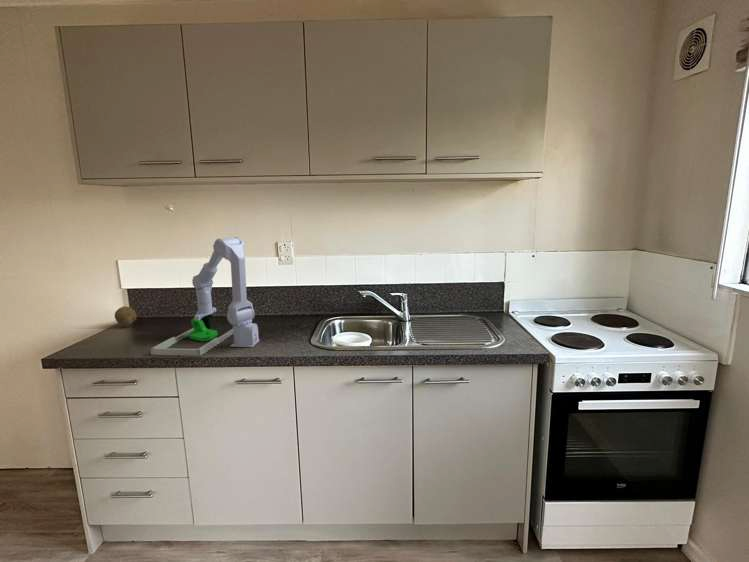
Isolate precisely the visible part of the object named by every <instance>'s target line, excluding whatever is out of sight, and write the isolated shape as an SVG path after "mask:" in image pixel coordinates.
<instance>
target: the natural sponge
mask: <svg viewBox="0 0 749 562" xmlns="http://www.w3.org/2000/svg"><path fill="white" fill-rule="evenodd" d="M137 318H138V315H137V313H136V311H135V310H134V309H133V308H132V307H130V306H121V307H119V308H118V309H116V311H115V312H114V319H115V321H116V322H117V324H118V325H119V326H121V327H124V328H128V327H129V326H131V324H132V323H133V322H135V321H136V320H137Z"/></svg>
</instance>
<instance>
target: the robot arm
mask: <svg viewBox="0 0 749 562" xmlns="http://www.w3.org/2000/svg"><path fill="white" fill-rule="evenodd" d="M213 243H214V244H213V246H212V247H213V248H212V249H213V252H212V254H211V256H210V259H209V260H208V262H205V263H204V264H203V265H202V268H201V269H200V271H199V273H198V274H196V275H194V276H193V277H192V279H191V282H192V286H193V288H194V289H195V292H196V302H197V311H196V312H195V313H196V314H195V315H194V317H193V318H194V319H195V321H199V320H200V319H202V321H203V322H204V324H205V327H206V328H207V329H211V328H212V323H213V320H214V318H215V315H214V314H213V313H216V312H217V307H213V301H212V290H213V289H212V287H213V284H214V281H213V279H214V277H215V275H216V274H217V272H218V267H217V266H218V265H219V264H220V263H221V261H222V260H223V259H224V260H227V261H229V263H230V273H231V274H230V275H231V293H232V301H231V303H229V305H228V306H227V309H228V310H227V314H226V318H227V321H228V323H229V324H230V325H231V326H232V329H233V334H232V335H233V342H232V343H231V344H230V345H229V347H231V348H232V347H233V348H234V347H235V348H253V347H254V346H256V344H258V343H259V342H260V341H261V340H260V339H259V337H260V336H259V327H258V324H257V323H252V322H253V320H254V318H255V314H256V313H255V310H254V307H253V303H252V302H251V301H249V300H248V299H247V298H248V297H247V275H246V257H245V243H244V241H243V240H242V239H241V238H240V237H238V236H235V237H226V238H216V240H215V241H214V242H213Z"/></svg>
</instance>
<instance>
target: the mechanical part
mask: <svg viewBox="0 0 749 562" xmlns="http://www.w3.org/2000/svg"><path fill="white" fill-rule="evenodd" d="M190 323H191V325H192V328H194V330H193V331H192V332H191V333H189V334H188V336H187V338H188V339H189V338H190V340H193V339H194V340H193V341H198V340H199V341H200V342H203V341H206V342H210V341H211V340H213V339H215V338H216V337H217V336H218V335H219V333H218V331H217V330H215V329H211V328H210V329H207V328H206V327H205V324H204V322H203V321H202V319H200V320H199V321H195V319H194V317H193V318H192V319H191V320H190Z"/></svg>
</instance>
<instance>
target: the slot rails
mask: <svg viewBox="0 0 749 562" xmlns="http://www.w3.org/2000/svg"><path fill="white" fill-rule="evenodd" d="M193 330H194V328H193V327H192V328H190V329H188V330H187V331H184V332H183V333H181V334H179V335H177V336H174V337H175V338H176V343H178V342H180V341H182V340H183V338H184V339H185V338H188V334H189V333H191V332H192V331H193ZM230 335H231V336H232V335H233V328H231V329H230V330H228V331H227V332H225V333H223V334H222V335H220V336H218V337H217V338H218V340H219V344H221V343H222V342H223V341H225V340H226V339H228V338H229V337H231V336H230ZM227 337H228V338H227ZM181 339H182V340H181ZM224 339H225V340H224Z"/></svg>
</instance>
